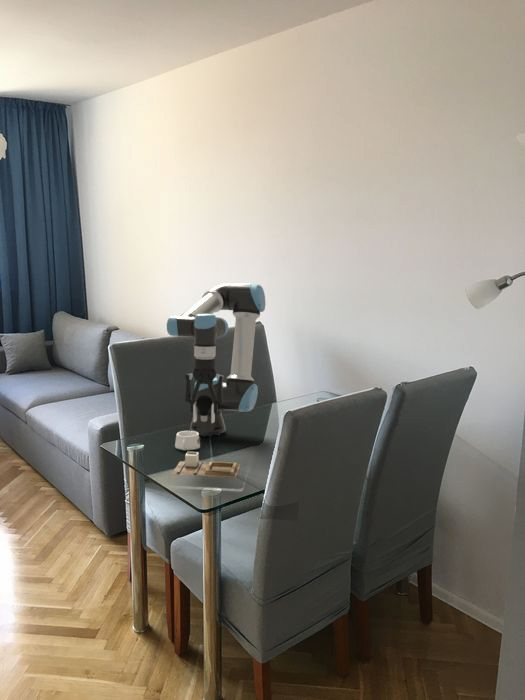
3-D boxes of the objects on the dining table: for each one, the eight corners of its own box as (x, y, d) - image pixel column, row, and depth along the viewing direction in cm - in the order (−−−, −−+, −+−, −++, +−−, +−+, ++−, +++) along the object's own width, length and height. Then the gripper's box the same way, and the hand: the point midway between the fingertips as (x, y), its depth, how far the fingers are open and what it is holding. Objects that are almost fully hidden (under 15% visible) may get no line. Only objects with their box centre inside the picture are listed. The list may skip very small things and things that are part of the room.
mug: (179, 444, 238) (179, 429, 237) (202, 445, 237) (202, 430, 236) (170, 453, 226) (170, 437, 225) (195, 454, 225) (195, 439, 224)
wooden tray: (180, 463, 215) (180, 457, 214) (240, 466, 213) (240, 460, 213) (171, 476, 201) (171, 471, 200) (236, 479, 199) (236, 474, 199)
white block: (187, 462, 213) (187, 450, 212) (198, 463, 212) (198, 450, 212) (185, 466, 209) (185, 453, 208) (196, 466, 208) (196, 454, 208)
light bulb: (192, 423, 212) (193, 395, 211) (200, 419, 218) (201, 392, 216) (207, 425, 210) (207, 397, 209) (215, 421, 215) (215, 394, 214)
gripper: (176, 358, 208) (175, 423, 211) (229, 360, 206) (228, 425, 209) (181, 355, 215) (180, 418, 218) (232, 357, 213) (231, 420, 216)
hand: (204, 421), depth 214 cm, fingers closed on light bulb, 6 cm apart
